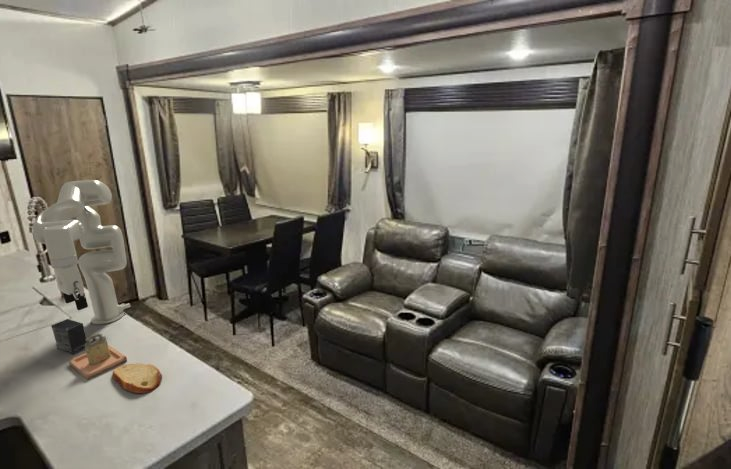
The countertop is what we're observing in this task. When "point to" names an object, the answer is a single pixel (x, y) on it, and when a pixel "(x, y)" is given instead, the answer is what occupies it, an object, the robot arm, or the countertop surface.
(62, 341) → the small box
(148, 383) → the slice of bread
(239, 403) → the countertop surface
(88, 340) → the lighter
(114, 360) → the rest tray
